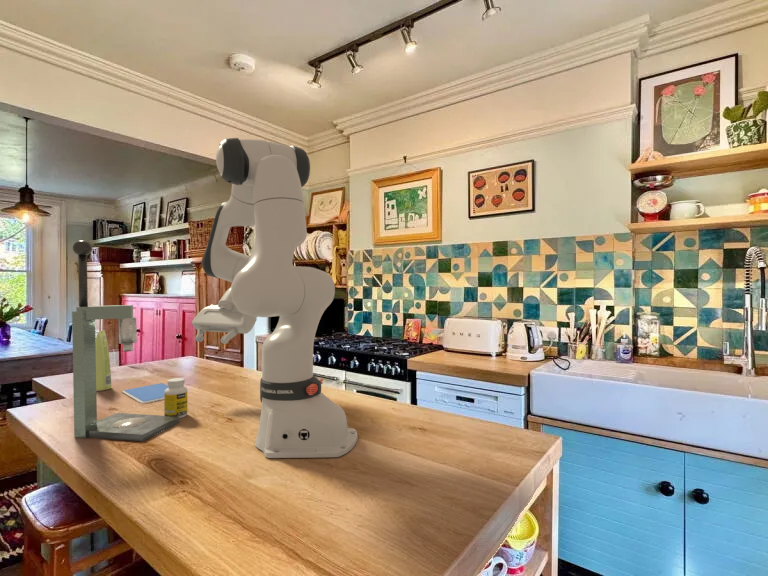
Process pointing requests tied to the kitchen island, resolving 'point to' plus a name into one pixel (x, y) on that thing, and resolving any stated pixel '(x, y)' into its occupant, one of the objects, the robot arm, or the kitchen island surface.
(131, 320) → the press
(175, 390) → the supplement bottle
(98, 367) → the tube
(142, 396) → the tablet computer
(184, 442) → the kitchen island surface
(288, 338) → the robot arm
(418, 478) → the kitchen island surface
